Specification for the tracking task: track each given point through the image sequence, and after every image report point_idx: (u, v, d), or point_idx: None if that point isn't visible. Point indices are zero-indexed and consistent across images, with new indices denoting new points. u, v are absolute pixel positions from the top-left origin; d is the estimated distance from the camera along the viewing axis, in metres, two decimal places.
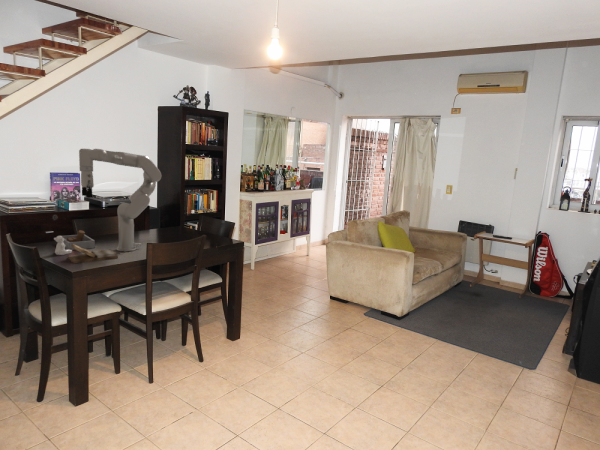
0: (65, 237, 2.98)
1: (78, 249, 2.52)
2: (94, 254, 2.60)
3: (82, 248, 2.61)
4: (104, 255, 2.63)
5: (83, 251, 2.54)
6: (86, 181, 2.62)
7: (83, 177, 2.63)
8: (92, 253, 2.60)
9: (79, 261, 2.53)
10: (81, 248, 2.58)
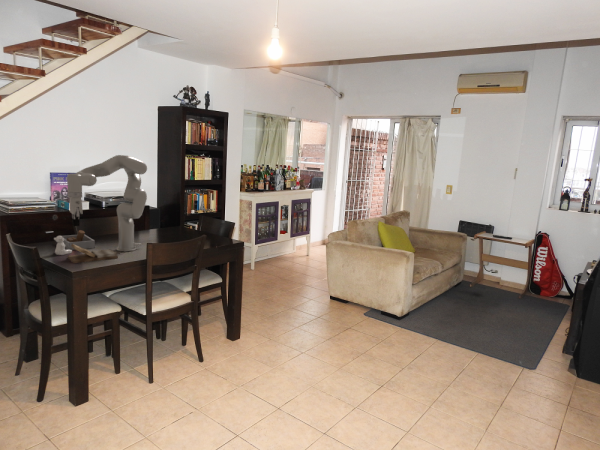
0: (65, 237, 2.98)
1: (78, 249, 2.52)
2: (94, 254, 2.60)
3: (82, 248, 2.61)
4: (104, 255, 2.63)
5: (83, 251, 2.54)
6: (74, 208, 2.48)
7: (71, 204, 2.49)
8: (92, 253, 2.60)
9: (79, 261, 2.53)
10: (81, 248, 2.58)
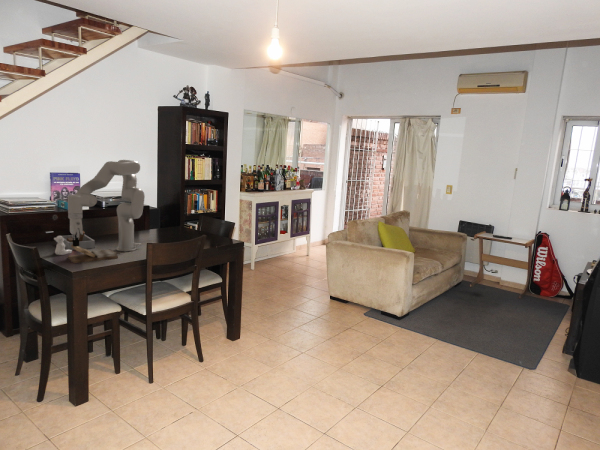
0: (65, 237, 2.98)
1: (78, 249, 2.52)
2: (94, 254, 2.60)
3: (82, 248, 2.61)
4: (104, 255, 2.63)
5: (83, 251, 2.54)
6: (75, 229, 2.50)
7: (72, 225, 2.51)
8: (92, 253, 2.60)
9: (79, 261, 2.53)
10: (81, 248, 2.58)
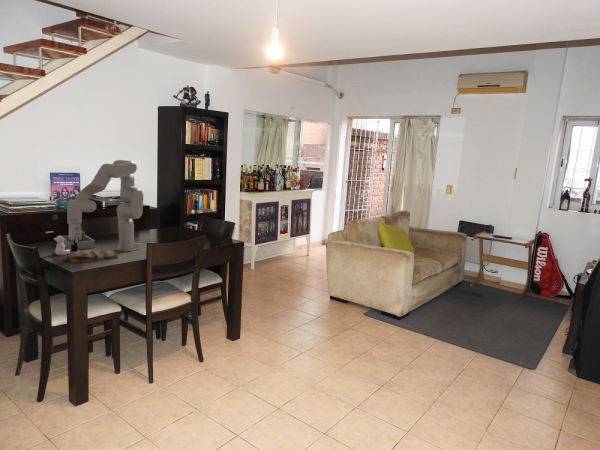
0: (65, 237, 2.98)
1: (76, 254, 2.52)
2: None
3: (81, 251, 2.61)
4: (104, 255, 2.63)
5: (82, 255, 2.54)
6: (74, 234, 2.50)
7: (71, 230, 2.51)
8: (92, 254, 2.60)
9: (79, 261, 2.53)
10: (80, 252, 2.58)
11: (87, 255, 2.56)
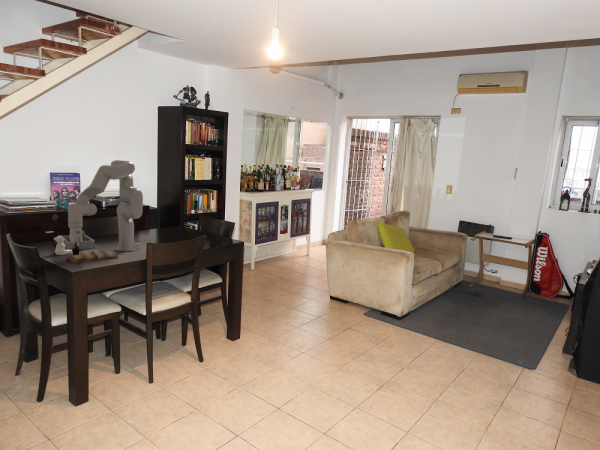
0: (65, 237, 2.98)
1: (76, 258, 2.52)
2: None
3: (81, 253, 2.61)
4: (104, 255, 2.63)
5: (82, 257, 2.54)
6: (75, 238, 2.51)
7: (72, 233, 2.52)
8: (92, 254, 2.60)
9: (79, 261, 2.53)
10: (79, 254, 2.58)
11: (87, 256, 2.56)
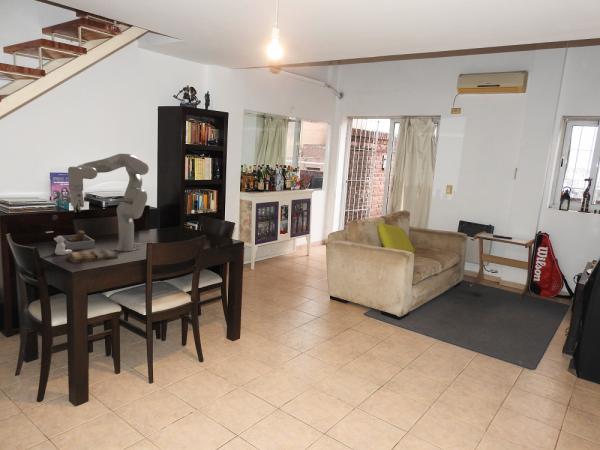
0: (65, 237, 2.98)
1: (76, 258, 2.52)
2: None
3: (81, 253, 2.61)
4: (104, 255, 2.63)
5: (82, 257, 2.54)
6: (76, 201, 2.48)
7: (72, 197, 2.49)
8: (92, 254, 2.60)
9: (79, 261, 2.53)
10: (79, 254, 2.58)
11: (87, 256, 2.56)
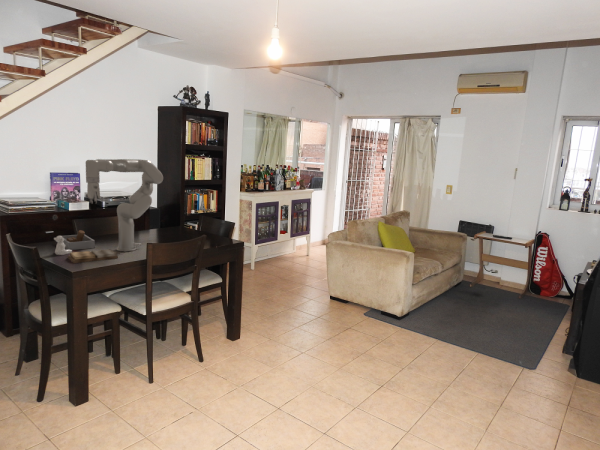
0: (65, 237, 2.98)
1: (76, 258, 2.52)
2: None
3: (81, 253, 2.61)
4: (104, 255, 2.63)
5: (82, 257, 2.54)
6: (93, 193, 2.60)
7: (89, 188, 2.61)
8: (92, 254, 2.60)
9: (79, 261, 2.53)
10: (79, 254, 2.58)
11: (87, 256, 2.56)
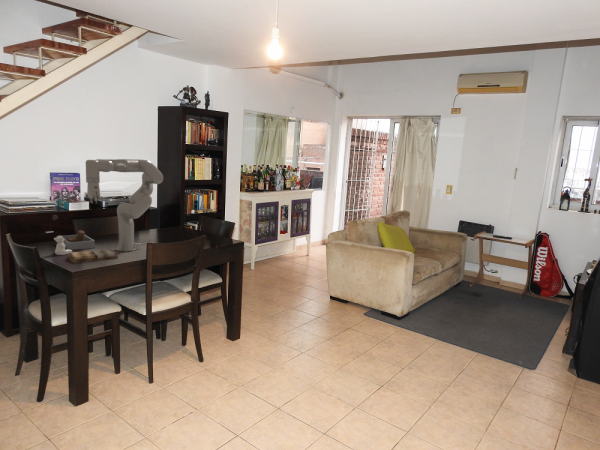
0: (65, 237, 2.98)
1: (76, 258, 2.52)
2: None
3: (81, 253, 2.61)
4: (104, 255, 2.63)
5: (82, 257, 2.54)
6: (93, 192, 2.60)
7: (89, 188, 2.61)
8: (92, 254, 2.60)
9: (79, 261, 2.53)
10: (79, 254, 2.58)
11: (87, 256, 2.56)
